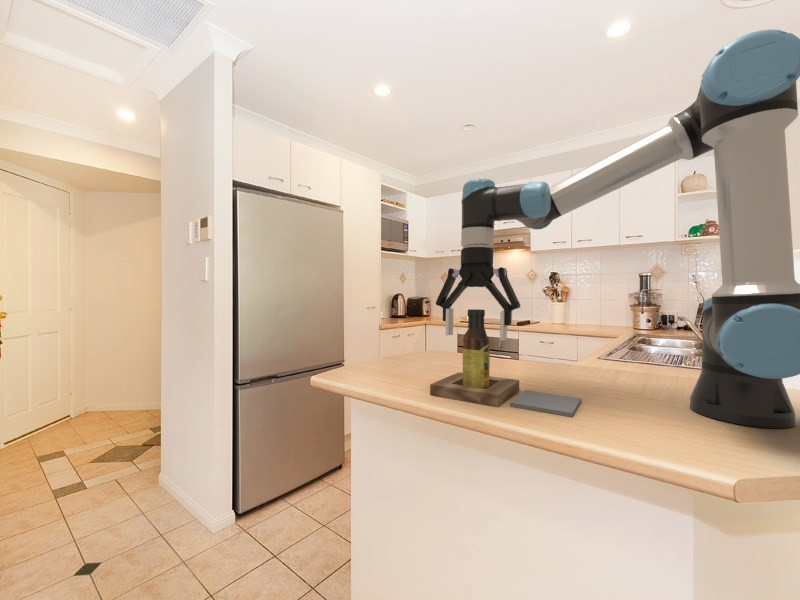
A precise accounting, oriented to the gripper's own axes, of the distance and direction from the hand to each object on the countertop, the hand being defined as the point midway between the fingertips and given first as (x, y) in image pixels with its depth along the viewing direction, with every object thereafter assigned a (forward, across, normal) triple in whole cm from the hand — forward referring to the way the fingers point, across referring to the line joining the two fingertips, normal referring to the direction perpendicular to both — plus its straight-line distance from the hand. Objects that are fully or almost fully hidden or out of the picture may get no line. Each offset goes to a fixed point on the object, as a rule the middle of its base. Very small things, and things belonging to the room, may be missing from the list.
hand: (475, 337), depth 88 cm
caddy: (+13, 0, 0) cm, 13 cm away
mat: (+13, -16, 0) cm, 21 cm away
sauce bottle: (+13, 0, 0) cm, 13 cm away
